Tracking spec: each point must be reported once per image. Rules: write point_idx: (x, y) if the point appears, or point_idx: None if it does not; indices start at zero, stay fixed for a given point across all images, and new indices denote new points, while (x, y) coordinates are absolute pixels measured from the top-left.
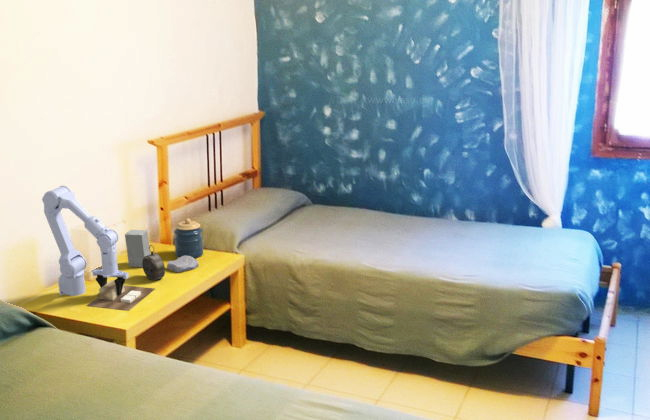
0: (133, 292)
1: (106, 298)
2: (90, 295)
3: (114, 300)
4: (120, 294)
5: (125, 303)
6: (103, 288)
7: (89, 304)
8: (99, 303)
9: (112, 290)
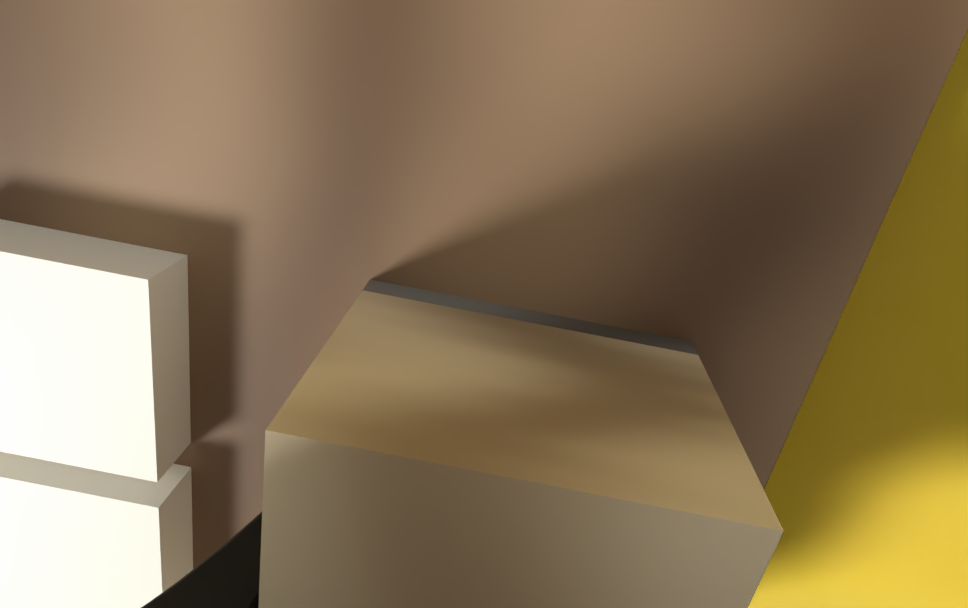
0: (79, 583)
1: (525, 332)
2: (936, 604)
3: None
4: None
5: (41, 176)
6: (631, 569)
7: (905, 54)
8: (645, 135)
9: (267, 442)
